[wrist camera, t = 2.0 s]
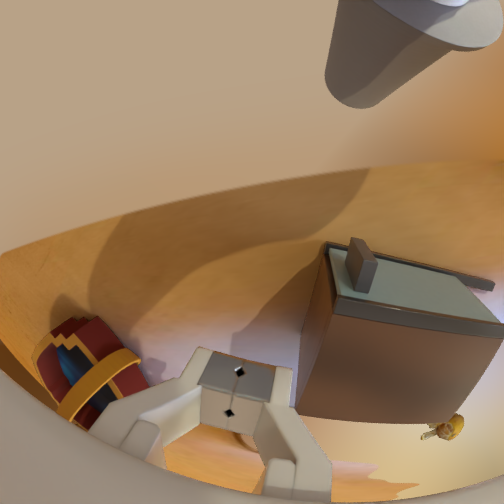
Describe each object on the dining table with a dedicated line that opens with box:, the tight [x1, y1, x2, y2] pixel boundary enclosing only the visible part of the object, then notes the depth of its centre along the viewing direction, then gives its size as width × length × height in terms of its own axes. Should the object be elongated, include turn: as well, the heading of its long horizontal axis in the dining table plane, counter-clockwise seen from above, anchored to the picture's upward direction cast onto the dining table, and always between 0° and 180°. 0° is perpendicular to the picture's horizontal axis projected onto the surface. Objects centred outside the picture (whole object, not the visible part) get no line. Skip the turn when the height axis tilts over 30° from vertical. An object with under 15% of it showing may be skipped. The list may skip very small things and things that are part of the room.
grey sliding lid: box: [329, 237, 501, 323], centre depth 22 cm, size 3×16×11 cm, turn 81°
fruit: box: [421, 413, 464, 440], centre depth 34 cm, size 8×8×4 cm
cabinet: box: [294, 241, 504, 424], centre depth 24 cm, size 12×25×13 cm, turn 81°
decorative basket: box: [31, 316, 149, 432], centre depth 39 cm, size 34×29×15 cm
